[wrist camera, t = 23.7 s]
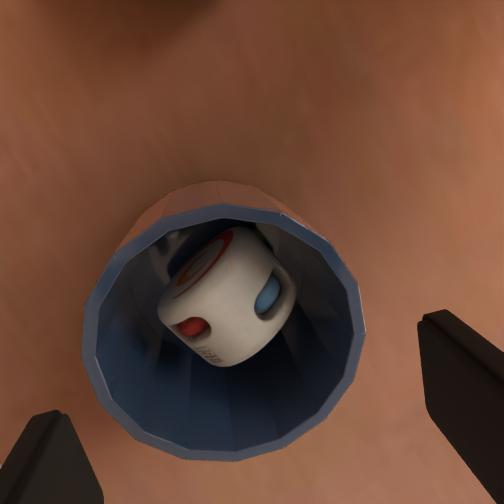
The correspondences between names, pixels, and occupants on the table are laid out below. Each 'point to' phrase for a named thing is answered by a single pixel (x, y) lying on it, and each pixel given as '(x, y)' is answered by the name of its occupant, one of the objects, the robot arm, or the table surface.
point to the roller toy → (229, 297)
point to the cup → (197, 368)
